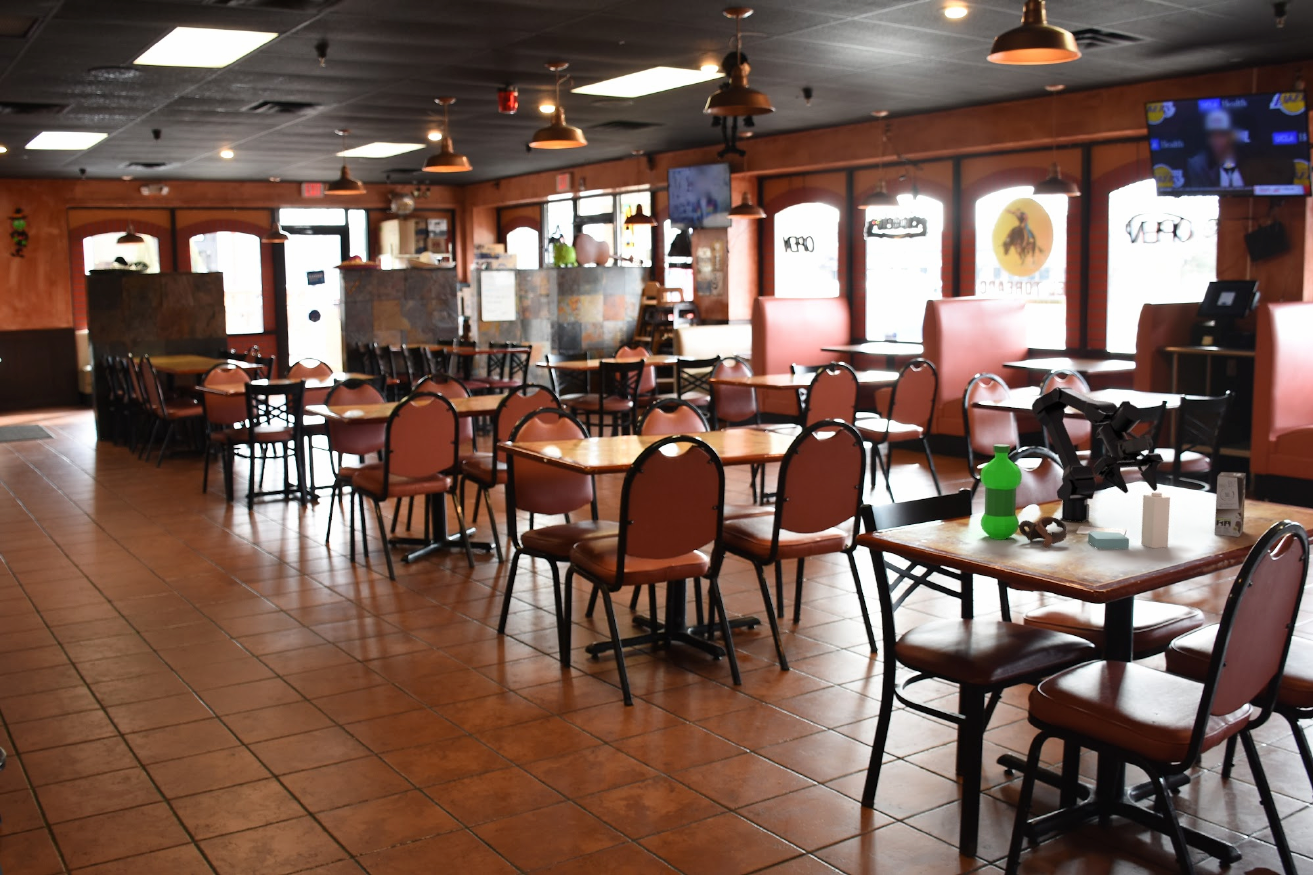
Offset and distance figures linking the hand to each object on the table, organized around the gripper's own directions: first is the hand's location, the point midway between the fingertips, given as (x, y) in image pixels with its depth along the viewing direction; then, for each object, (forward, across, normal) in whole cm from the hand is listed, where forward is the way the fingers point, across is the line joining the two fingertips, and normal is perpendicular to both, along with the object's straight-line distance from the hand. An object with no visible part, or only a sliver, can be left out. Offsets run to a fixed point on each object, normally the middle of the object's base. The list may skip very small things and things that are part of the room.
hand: (1141, 491), depth 313 cm
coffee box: (+11, +27, +7) cm, 30 cm away
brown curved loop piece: (+7, -27, +12) cm, 30 cm away
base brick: (+12, -13, +6) cm, 19 cm away
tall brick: (+15, -2, +2) cm, 15 cm away
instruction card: (+3, -4, +17) cm, 17 cm away
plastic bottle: (0, -33, +20) cm, 39 cm away
